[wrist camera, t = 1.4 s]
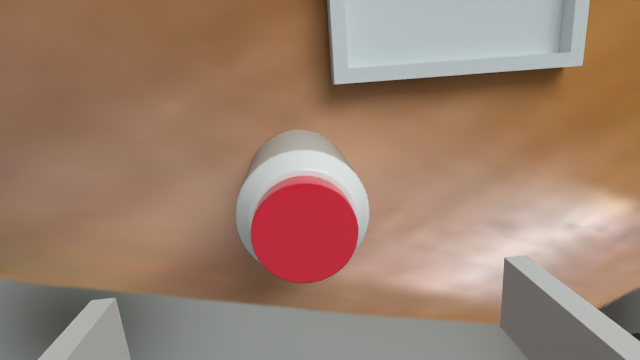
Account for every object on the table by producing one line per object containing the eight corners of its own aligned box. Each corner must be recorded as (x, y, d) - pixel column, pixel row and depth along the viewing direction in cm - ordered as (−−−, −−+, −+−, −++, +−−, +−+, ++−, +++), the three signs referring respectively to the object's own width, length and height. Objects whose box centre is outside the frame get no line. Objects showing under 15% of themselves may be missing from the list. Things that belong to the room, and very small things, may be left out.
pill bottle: (368, 170, 30) (411, 222, 19) (306, 242, 31) (316, 327, 20) (291, 108, 28) (292, 127, 17) (229, 186, 29) (195, 248, 19)
